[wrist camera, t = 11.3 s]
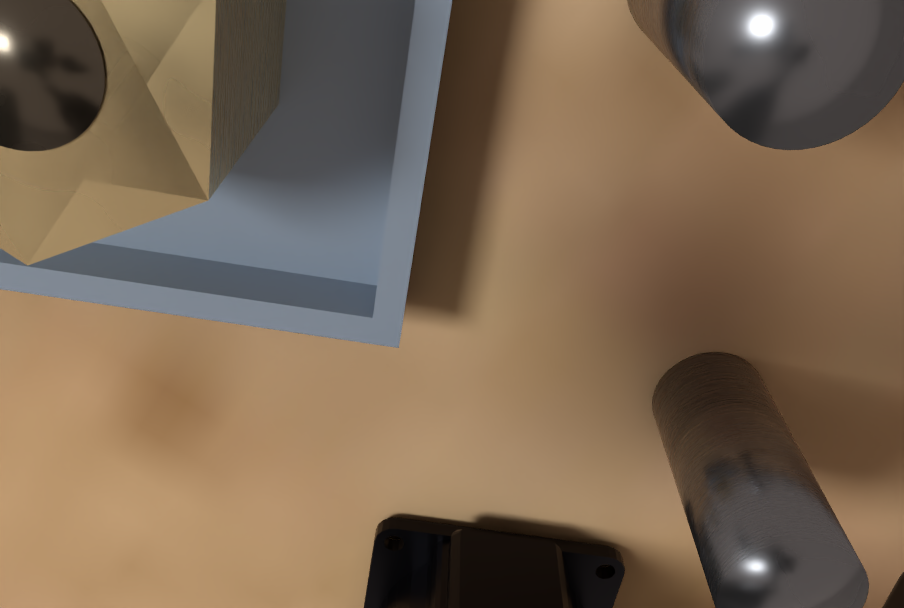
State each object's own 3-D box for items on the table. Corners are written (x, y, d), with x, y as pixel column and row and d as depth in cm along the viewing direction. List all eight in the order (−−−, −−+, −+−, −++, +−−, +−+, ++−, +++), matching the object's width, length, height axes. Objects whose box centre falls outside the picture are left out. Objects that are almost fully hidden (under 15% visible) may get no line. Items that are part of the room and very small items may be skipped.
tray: (405, 301, 19) (398, 347, 17) (-110, 223, 18) (-171, 263, 17) (497, -302, 14) (502, -322, 12) (-219, -441, 13) (-326, -484, 11)
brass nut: (273, 177, 17) (204, 295, 13) (9, 133, 17) (-158, 238, 12) (298, -159, 14) (220, -158, 10) (-20, -220, 14) (-247, -248, 10)
